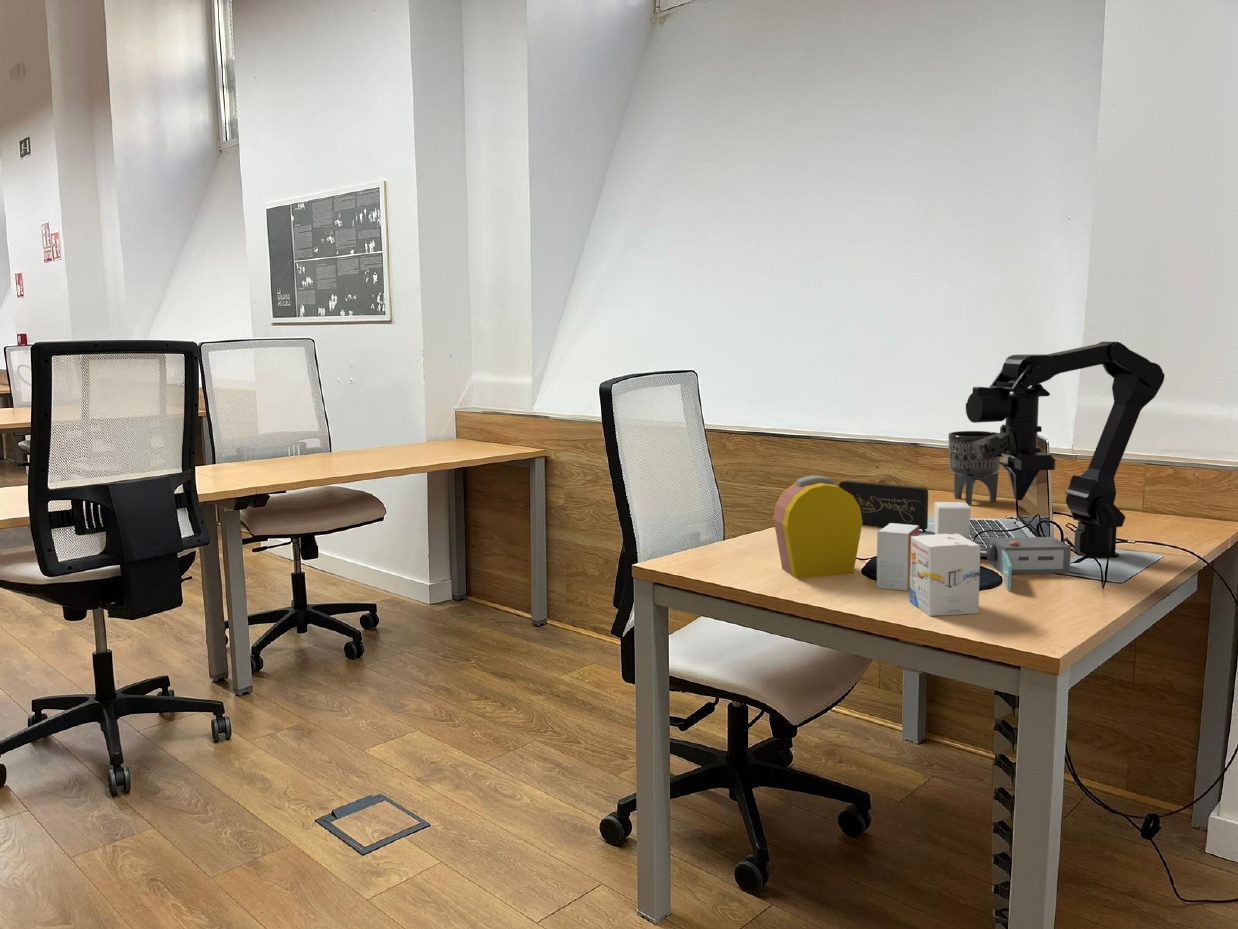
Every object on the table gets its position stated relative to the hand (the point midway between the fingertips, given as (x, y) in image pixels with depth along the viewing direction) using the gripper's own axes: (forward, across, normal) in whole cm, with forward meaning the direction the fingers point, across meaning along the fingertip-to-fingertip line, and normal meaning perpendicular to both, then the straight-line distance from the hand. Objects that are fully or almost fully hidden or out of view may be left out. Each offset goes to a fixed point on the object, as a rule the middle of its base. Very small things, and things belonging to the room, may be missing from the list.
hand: (1018, 500), depth 180 cm
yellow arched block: (+12, +6, -40) cm, 42 cm away
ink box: (+12, +30, -23) cm, 40 cm away
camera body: (+12, +6, 0) cm, 13 cm away
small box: (+12, +16, -27) cm, 34 cm away
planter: (+12, -60, +11) cm, 62 cm away
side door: (+12, +16, -8) cm, 21 cm away
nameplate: (+12, -32, -19) cm, 39 cm away
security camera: (+12, -7, -11) cm, 18 cm away
